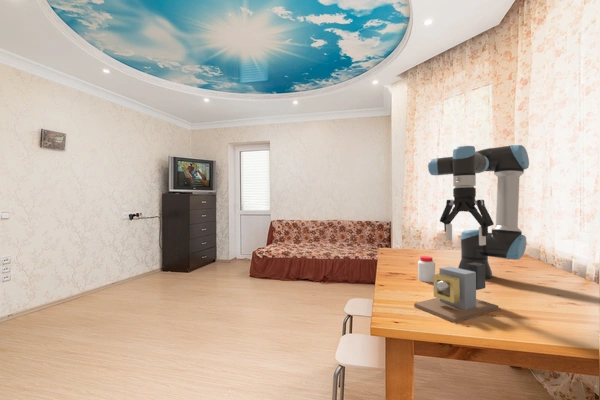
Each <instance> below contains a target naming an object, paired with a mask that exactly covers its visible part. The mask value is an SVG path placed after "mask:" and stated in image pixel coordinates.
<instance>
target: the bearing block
mask: <svg viewBox="0 0 600 400" xmlns="http://www.w3.org/2000/svg"><path fill="white" fill-rule="evenodd" d="M439 273H440V274H443V275H447V276H451V277H455V278H459V279H460V302H457V303H452V302H449V301H446V300H443V299H440V298H437V297H434V298H431V299H425V300H422V301H419V302H414V303H413V306H414V308H416V309H419V310H422V311H425V312H426V313H430V314H432V315H434V316H437V317H439V318H442V319H444V320H447V321H449V322H452V323H455V324H456V323H458V322H462V321H464V320H468V319H471V318H474V317H478V316H481V315H484V314H486V313H490V312H494V311H496V310H499V305H498V304H495V303H491V302H488V301H484V300H481V299H477V290H476V272H473V271H469V270H464V269H459V268H458V267H454V266H446V267H445V266H444V267H440V268H439ZM443 292H444V293H447V294H450V289H447V290H443Z"/></svg>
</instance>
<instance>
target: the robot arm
mask: <svg viewBox="0 0 600 400" xmlns="http://www.w3.org/2000/svg"><path fill="white" fill-rule="evenodd" d="M529 166H530V159H529V154H528V152H527V149H526V148H525V146H524V145H521V144H514V145H512V144H511V145H507V146H506V145H505V146H498V147H490V148H484V149H479V150H476V147H475V146H474V145H461V146H460V145H459V146H457V147H454V148H453V150H452V156H447V157H446V156H444V157H437V158H432V159H430V160H429V161H428V165H427V169H428V173H429V174H430V175H431V176H445V175H446V176H447V175H448V176H449V175H452V182H453V183H452V186H453V188H452V190H453V191H452V195H453V198H454V199H446V202H445V203H446V204H445V207H444V209H443V212H442V214H441V216H440V219H439V222H440V223H442V224H443V225H444V232H445V241H447V242H449V241H453V224H452V223H451V222H452V221H453V220H454V219H455V218H456V216H458V214H459V213H460V212H464V213H465V212H468V213H470V214H471V215H472V216H473V218H474V219H475V220H476V221H477V223H478V224H479V225H480V226H479V227H478V229H469V230H463V231H462V232H461V235H460V236H461V237H460V249H461V253H460V254H461V256H460V257H461V259H460V262H459V264H458V267H457V268H459V269H464V270H467V264H468V263H474V262H476V263H481V264H485V280H487V279H492V278H493V271H492V268H491V265H490V264H489V260H488V259H489V258H497V259H504V260H505V259H507V260H514V261H515V260H518V261H519V260H520V259H521V258H522V257H523V256H524V254H525V252H526V247H527V237H526V235H524V234H522V233H523V232H522V230H521V228H519V202H520V201H519V200H520V199H519V198H520V178H521V176H522V175H523V174H524V173H525V170H527V169H529ZM484 172H493V174H494V176H496V177H497V184H496V185H497V190H496V211H495V226H494V221H493V219H492V217H491V215H490V213H489V211H488V209H487V207H486V205H485V200H484V199H476V197H477V195H476V193H477V192H476V190H477V188H476V186H477V185H476V183H477V182H476V178H477V177H476V174H481V173H484ZM475 206H476V207H475ZM478 210H479V211H478ZM491 226H494V227H492V228H491V232H489V230H488V229H489V227H491Z"/></svg>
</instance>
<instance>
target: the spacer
mask: <svg viewBox="0 0 600 400" xmlns="http://www.w3.org/2000/svg"><path fill="white" fill-rule="evenodd" d="M441 281H444V282H448V283H450V294H447V293H444V292H443V290H442V291H438V290H437V289H436V288H435V283H436V282H441ZM433 297H434V298H440V299H443V300H446V301H449V302H452V303H457V302H460V279H459V278H455V277H451V276H447V275H443V274H440V272H439V273H435V274H434V282H433Z"/></svg>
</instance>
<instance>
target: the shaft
mask: <svg viewBox="0 0 600 400" xmlns="http://www.w3.org/2000/svg"><path fill="white" fill-rule="evenodd" d="M467 270H469V271H473V272H476V291H479V290H484V289H486V279H485V264H481V263H476V262H474V263H468V264H467ZM435 288H436V289H437V290H438V291H442V290H447V289H450V283H448V282H444V281H441V282H436V283H435Z"/></svg>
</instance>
